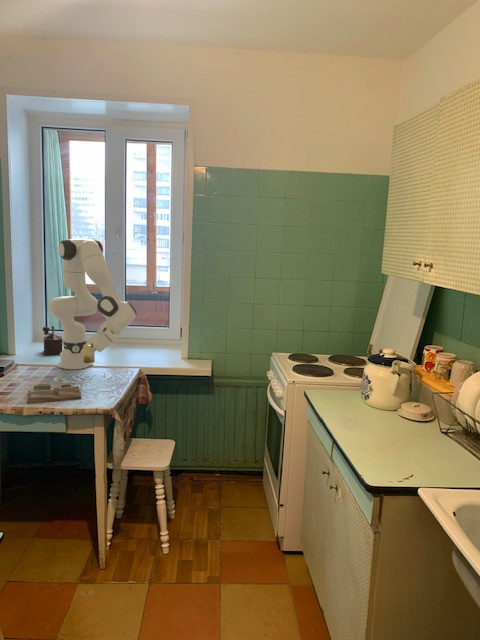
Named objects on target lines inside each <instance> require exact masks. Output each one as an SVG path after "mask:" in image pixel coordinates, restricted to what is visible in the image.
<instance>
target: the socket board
mask: <svg viewBox="0 0 480 640" xmlns="http://www.w3.org/2000/svg"><path fill="white" fill-rule="evenodd" d="M57 386H58V387H55V388H54V383H49V384H35V385H30V389H28V390H27V402H26V403H27V404H28V405H29V404H38V403H40V404H41V403H51V402H61V401H62V402H63V401H72V400H73V401H75V400H81V399H82V395H81V389H80V386H78V385H77V386H75V385H74V383H62V384H61V383H60V384H58V385H57Z"/></svg>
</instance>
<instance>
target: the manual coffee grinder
mask: <svg viewBox="0 0 480 640" xmlns="http://www.w3.org/2000/svg"><path fill="white" fill-rule="evenodd" d="M50 330H51V333H50V332H49V331H50ZM42 331H43V335H44V336H43V351H42V353H43V355H44V356H58V355H59V356H60V353H61V352H62V351H63V337H62V336H61V335H57V334H55V326H53V325H52V326H51V329H50V327H49V326H44V327H43V328H42Z"/></svg>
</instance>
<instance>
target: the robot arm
mask: <svg viewBox="0 0 480 640" xmlns="http://www.w3.org/2000/svg"><path fill="white" fill-rule="evenodd" d="M58 253H59V256H60V258H61V259H62V260H63V267H62V272H63V273H62V274H63V275H62V277H63V278H62V279H63V280H62V283H63V285H64V287H65V288H67V289H68V290H70V291H73V292H74V295H69V296H68V295H66V296H63V295H62V296H58V297H54V298H52V299H50V300H49V304H48V311H49V312H50V313H51V315H52V316H53V317H55V318H56V319H57V320H58V321H59V322H60V324H61V326H62V328H63V330H62V331H63V339H64V340H63V341H62V348H63V349H62V352H61V353H60V355H59V358H60V360H59V362H58V363H57V366H56V367H57V368H62V369H67V370H81V369H82V370H83V369H85V368H88V367H91V366H94V363H84V362H83V345H84V344H88V343H87V340H86V327H85V325H84V324H82V323H80V322H79V321H76V320H75V317H80V316H81V317H83V316H92V315H94V314H96V313H97V312H98V313H100V314H101V315H102V316H103V317H104V318H105V319H106V320H105V321H104V322H103V323H102V324H101V325H100V326H99V329H98V330H97V331H96V332H95V333H94V334H93V335H92V336H91V337H90V343H89V344H93V347H92V348H91V349H90V350H89V351H88V352H87V354H88V355H89V356H90V355H91V354H92V353H94V354H95V352H98V353H102V352H103V351H104V350H105V349H107V348H108V347H109V346H110V345H111V344H112V342H113V343H114V342H115V341H116V340H117V338H118V336H120V334H121V333H122V332H123V330H124V329H125V328H127V327H128V326H129V325H130V324H132V322H133V321H134V319H135V318H136V316H137V314H138V313H137V310H136V309H135V307H134V306H133V305H132V303H131V302H129V301H122V300H120V299H118V297H117V294H116V291H115V289H114V286H113V283H112V279H111V277H110V272H109V268H108V265H107V262H106V261H107V260H106V259H105V255H104V248H103V244H102V242H101V241H100V240H98V239H95V238H92V239H90V238H73V239H69V238H67V239H62V240H60V242H59V245H58ZM86 276H87V277H88V278H89V279H90V281H92V282H93V283H94V284H95V285H96V286H97V288H98V289H99V290H100V293H101V295H102V297H101V298H99V300H98V299H97V298H96V297H95V296H94V295H92V294H91V293H90V291H89V289H88V288H87V283H86Z"/></svg>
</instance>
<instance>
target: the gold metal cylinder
mask: <svg viewBox="0 0 480 640" xmlns="http://www.w3.org/2000/svg"><path fill="white" fill-rule="evenodd" d="M92 347H93V344H90V343H87V344H84V345H83V362H84V363H93V364H94V363H95V361H96V359H95V352H94V353H92V354H91V355H90V356H89V355H88V354H87V352H88V351H89V350H90V349H91V348H92Z"/></svg>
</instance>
